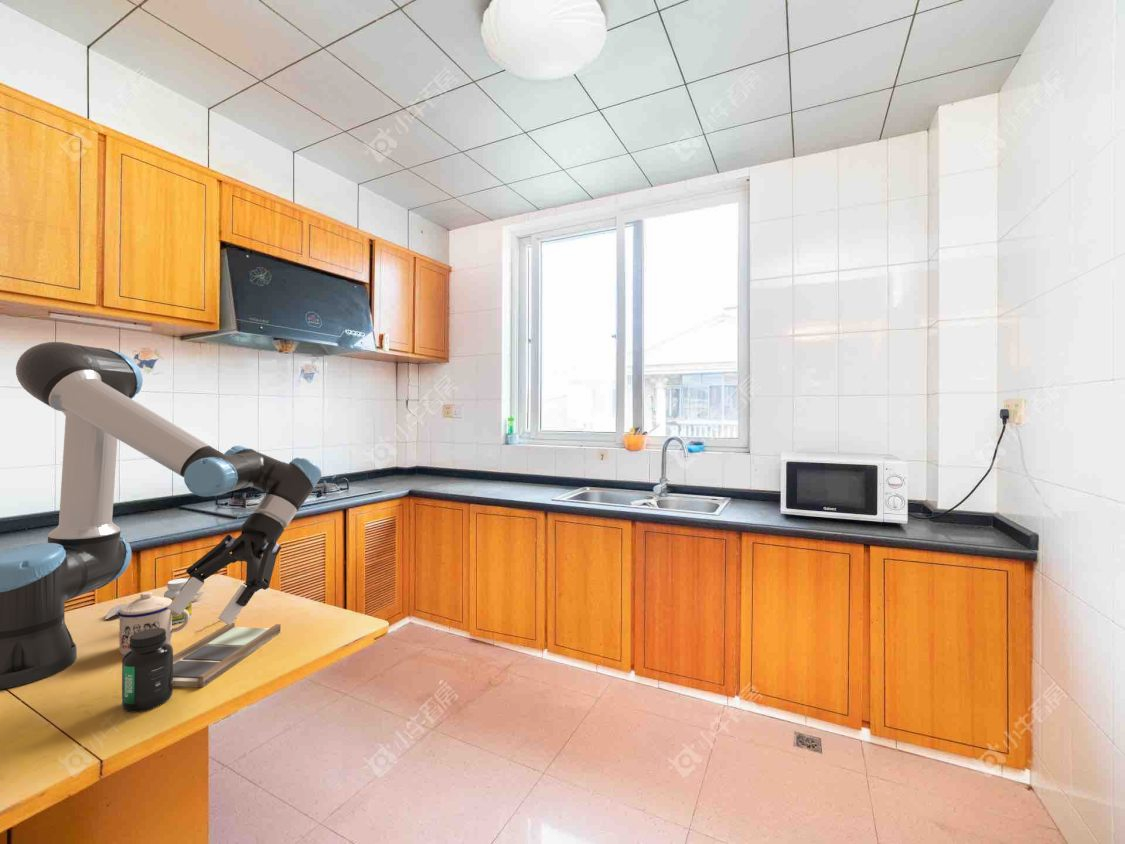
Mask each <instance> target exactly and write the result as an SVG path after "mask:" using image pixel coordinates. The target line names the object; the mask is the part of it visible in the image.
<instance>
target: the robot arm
mask: <svg viewBox="0 0 1125 844" xmlns="http://www.w3.org/2000/svg"><path fill="white" fill-rule="evenodd" d="M138 365H139V364H137V363H136V362H135V361H134V360H133V359H132V358H131V357H129V356H128V355H126V354H124V353H121V352H118V351H114V350H111V349H109V348H103V347H96V346H95V347H93V346H87V345H80V344H79V345H78V344H74V343H70V342H65V341H63V342H62V341H49V342H48V341H47V342H43V343H39V344H37V345H34V346H31V347H30V348H28V349H26V350H25V352H23V353H22V354H21V355H20V357H19V358H18V360H17V363H16V366H15V375H16V378H17V381H18V382H19V384H20V385H21V387H22V388H23V389H24V390H25V391H26V392H27V393H28V394H29V395H31V396H32V397H34V398H35V399H36V400H38V401H40V402H41V403H43V404H45V405H46V406H48V407H50V408H52V409H53V410H55V411H58V412H61V413H63V414H64V416H65V420H64V421H65V422H64V423H65V424H64V436H63V449H62V450H63V453H62V468H61V470H62V471H61V486H60V501H59V517H58V525H57V526H56V527H54V528H53V529H52V530H51V531H50V532H48V534H47V542H43V543H33V544H27V545H23V546H21V547H13V548H8V549H6V550H3V551H0V690H3V689H10V688H13V687H19V686H22V685H25V684H29V683H32V682H33V683H34V682H35V681H39V680H42V679H44V678H47V677H50V676H53V675H55V674H56V673H57V674H58V673H59V672H61V671H63V670H65V669H66V668H68V667H70V666H71V665H72V664H73V663H75V662H76V660H77V657H78V655H77V653H78V652H77V651H78V650H77V649H78V648H77V645H76V643H75V642H74V639H73V637H72V634H71V633H70V631H69V628H68V627H67V626H68V625H66V621H65V620H66V619H65V612H66V611H65V609H66V608H65V602H68V601H70V600H72V599H74V598H78V597H80V596H82V595H85V594H87V593H89V592H92V591H95V590H98V589H101V588H104V587H105V586H107V585H108V584H110V583H112V582H114V581H116V580H117V579H118V578H120V577H121V576H122V575H123V574H124V573H125V572H126V570H128V567H129V566H130V563H131V561H132V548H131V544H130V543H129V542H127V541H126V537H124V536H123V535H121V527H120V526H118V525H116V524H115V523H114V522H113V514H114V496H115V494H114V493H115V482H116V480H115V479H116V468H117V465H116V464H117V453H118V441H121V442H122V443H123V444H125V445H127V446H129V447H130V448H133V449H134V450H136V451H138V452H139V453H141V454H142V455H145V457H147V458H149V459H151V460H153V461H154V462H157V463H158V464H160V465H161V466H163V467H165V468H166V469H168V470H170V471H172V472H174V473H175V474H177V475H178V476H180V477H182V478H183V480H184V481H183V482H184V485H186V488H187V489H188V490H189V492H191V494H194V495H196V496H198V497H207V498H208V497H215V496H222V495H224V494H227V493H229V492H233V491H237V490H238V491H239V490H241V489H245V488H249V487H250V488H254V489H256V490H259V491H261V492H263V493H266V494H265V495H264V496H263V497H262V499H261V500H260V501H259V503H258V504H257V505H256V506H255V507H254V509H253V513H251V514H249V516H248V517H247V519H246V520H245V521H244V522H243V523H242V525H241V526H240V530H241V534H240V535H238V536H237V537H236V538H235V537H233V536H232V535H231V534H227V535H225V536H224V538H222V540H221V541H220V542H219V543H217V545H216V546H214V547H213V548H212V549H210V550H209V551H208V552H207V553H205V554H204V555H203V556H202V557H201V558H199V559H198V560H196V561H195V562H194V563H192V564H191V565H190V566H189V567H188V568H187V569H185V573H186V574H188V575H189V578H188V581H187V582H186V583H185V585H184V586H183V587H182V588H181V590H180V592H179V594H178V595H177V596H176V597H175V599H174V600H173V601H172V602H171V604H170V605H169V606H168V609H170V610H171V611H173V612H175V613H177V614H179V615H181V613H182V612H183V611H184V609H185V608H186V607H187V605H188V604H189V603H190V601H191V600H192V599H193V598H194V597H196V596H197V595H196V594H197V593H199V591H200V589H201V588H202V587H203V586H204V584H205V580H206V579H208V578H210V577H211V576H212V575H214V574H216V573H217V572H219V571H220V570H222V569H224V568H226V567H227V566H228V565H230V564H235V563H237V562H245V563H246V570H245V571H246V572H245V573H246V574H245V575H246V576H245V577H246V579H245V581H244V582H243V584H241V585H240V586H239V588H238V589H237V590H236V592H235V593H234V595H232V597H231V598H230V600H229V602H228V603H227V604H226V606H225V608H223V610H222V611H221V613H220V614H219V616H218V617H217V620H220V621H221V622H222V623H223V622H224V624H225V625H227V624H228V625H231V624H232V623H234V621H235V620H236V618H237V616H238V615H239V614H240V612H242V609H243V608H244V607H246V606H247V605H248V603H249V601H250V599H252V598H253V596H254V595H255V593H256V592H258V591H259V590H267V589H268V588H269V587H270V585H271V584H270V583H271V580H272V576H273V572H274V568H275V565H276V560H277V556H278V554H279V553H280V552H281V549H282V546H281V545H280V544H279V543H278V541H279V539H280V537H281V536H282V534H283V533H284V531H285V528H287V527H288V526H289V525H290V523H291V521H292V520H293V519H294V517H295V516H296V515H297V513H298V511H299V510H300V509H301V507H302V506H303V505H304V503H305V502H306V501H307V499H308V498H309V496H311V493H312V492H314V490H315V488H316V486H317V484H318V482H319V481H320V479H321V478H322V476H323V475H322V470H321V468H320V467H319V466H318V465H317V464H316V463H314V461H311V460H310V459H308V458H306V457H305V458H304V457H295V458H293V459H292V460H291V461H290V462H288V463H287V462H284V461H280V460H278V459H276V458H273V457H272V456H268V455H266V454H264V453H261V452H259V451H256V450H255V449H254V448H248V447H244V446H241V445H234V446H232V447H231V448H230V449H227V450H226V451H225V452H224V453H223V452H221V451H219V450H217V449H216V448H214V447H213V446H211V445H209V444H207V443H206V442H205V441H203V440H201V439H199V438H198V437H196V436H195V435H192V434H191V433H189V432H187V431H185V430H184V429H183V428H181V427H179V426H177V425H176V424H174V423H173V422H171V421H169V420H168V419H165V418H164V417H162V416H160V415H159V414H157V413H156V412H154V411H152V410H150V409H149V408H147V407H145V406H143V405H142V404H141V403H138V402H137V401H136V400H133V398H135V397H136V395H137V394H139V393H140V391H141V390H142V386H143V381H144V380H143V374H142V372H141V369H140V367H139V366H138ZM195 595H196V596H195Z"/></svg>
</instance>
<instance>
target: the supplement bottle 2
mask: <svg viewBox="0 0 1125 844" xmlns="http://www.w3.org/2000/svg"><path fill="white" fill-rule="evenodd" d="M188 580H189V578H175V579H172V580H169V581H168V582H167V586H166V588H167V590H166V591H165V592H164V594H163V597H166V598H170V599H171V600H172V601H173V600H174V599H175V597H176V596H177V595H178V594H179V592H180V590H181V588H182V587H183V586H184V585H185V583H186V582H187V581H188ZM192 605H193V604H192V600H191V601H190V603H189V604H188V605H187V607H186V608H185V610H187V611H188V613H189V620H190V619H191V618H192V608H193V607H192ZM183 621H185V615H184V614H182V613H181V615H179V614H177V613H172V625H175V624H174V623H176V624H180V623H179V622H181V623H184V622H183Z"/></svg>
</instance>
